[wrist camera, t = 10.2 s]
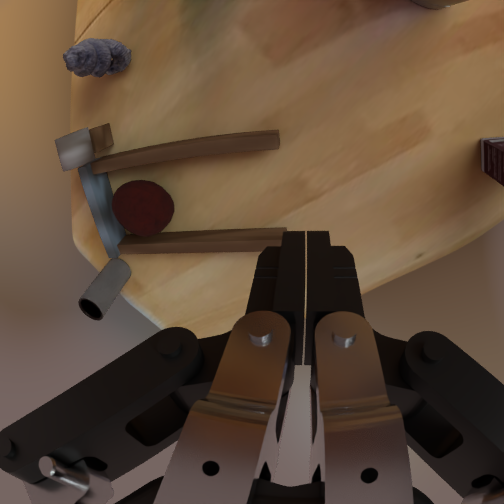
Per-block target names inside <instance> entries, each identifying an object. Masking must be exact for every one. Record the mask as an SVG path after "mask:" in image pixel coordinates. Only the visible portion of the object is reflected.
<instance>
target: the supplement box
mask: <svg viewBox="0 0 504 504" xmlns="http://www.w3.org/2000/svg"><path fill="white" fill-rule="evenodd" d="M481 160H482V171H483V172H485V173H486V174H487V175H489V176H490V177H492V178H493V179H494V180H496V181H497V182H499V183H500V184H501V185H503V186H504V137H496V138H482V139H481Z"/></svg>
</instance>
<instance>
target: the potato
mask: <svg viewBox="0 0 504 504" xmlns="http://www.w3.org/2000/svg"><path fill="white" fill-rule="evenodd" d="M112 210H113V213H114V215H115V217H116V219H117V220H118V221H119V223H120V224H121V225H122V226H123V227H125V228H126V229H127V230H129V231H130V232H132V233H134V234H136V235H138V236H143V237H150V236H152V235H154V234H157V233H159V232H161V231H162V230H163V229H164V228H165V227H166V226H167V225H168V223H169V222H170V221H171V219H172V216H173V213H174V202H173V200H172V198H171V196H170V195H169V194H168V193H167V192H166V191H165V190H164V189H163V187H161V186H159V185H158V184H156V183H154V182H151V181H145V180H135V181H131V182H128V183H125V184H123V185H122V186H120V187H119V188H118V189H117V191H116V192H115V194H114V196H113V199H112Z"/></svg>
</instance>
